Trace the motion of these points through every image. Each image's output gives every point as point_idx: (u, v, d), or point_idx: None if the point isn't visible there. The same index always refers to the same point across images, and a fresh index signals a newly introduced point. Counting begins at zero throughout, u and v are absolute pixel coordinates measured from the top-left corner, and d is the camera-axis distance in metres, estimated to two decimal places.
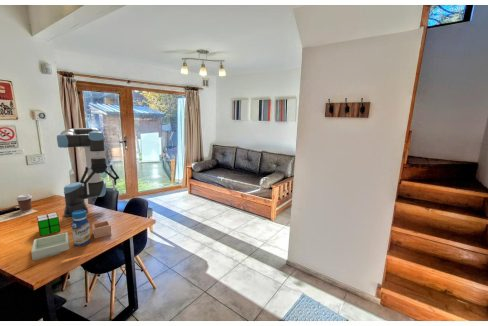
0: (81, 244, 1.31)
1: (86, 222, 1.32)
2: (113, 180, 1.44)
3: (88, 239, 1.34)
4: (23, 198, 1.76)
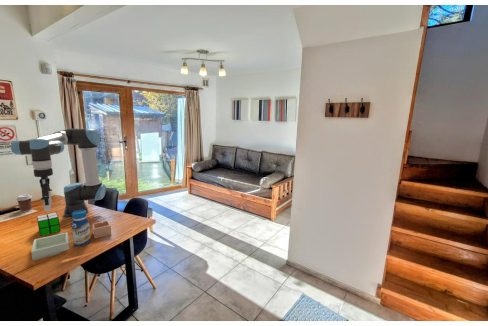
0: (81, 244, 1.31)
1: (86, 222, 1.32)
2: None
3: (88, 239, 1.34)
4: (23, 198, 1.76)
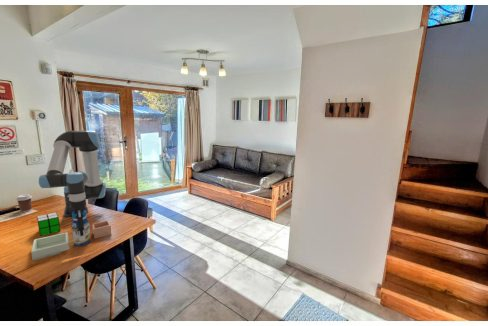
0: (81, 244, 1.32)
1: (86, 222, 1.32)
2: None
3: (88, 239, 1.34)
4: (23, 198, 1.76)
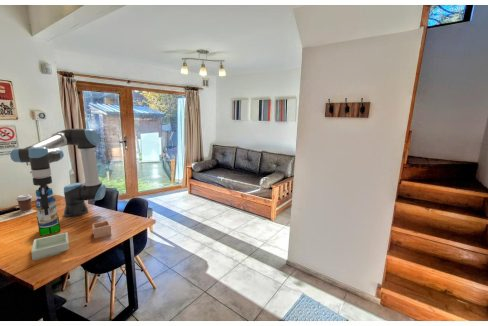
0: (46, 224, 1.23)
1: (52, 201, 1.24)
2: None
3: (54, 219, 1.26)
4: (23, 198, 1.76)
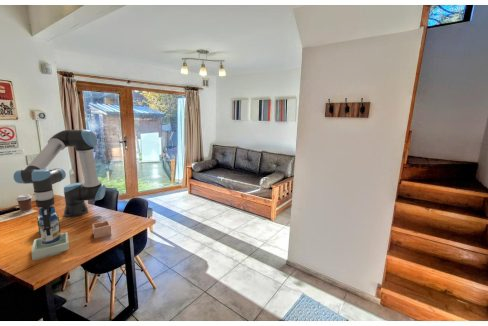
0: (49, 241, 1.27)
1: (54, 219, 1.27)
2: None
3: (57, 236, 1.29)
4: (23, 198, 1.76)
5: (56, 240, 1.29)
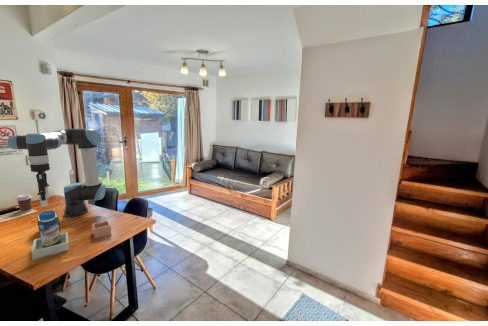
0: None
1: (55, 223, 1.28)
2: None
3: (57, 241, 1.30)
4: (23, 198, 1.76)
5: (57, 244, 1.29)
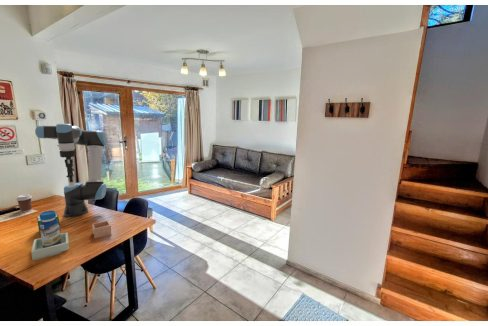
0: None
1: (55, 223, 1.28)
2: (68, 176, 1.35)
3: (58, 241, 1.30)
4: (23, 198, 1.76)
5: (57, 244, 1.29)
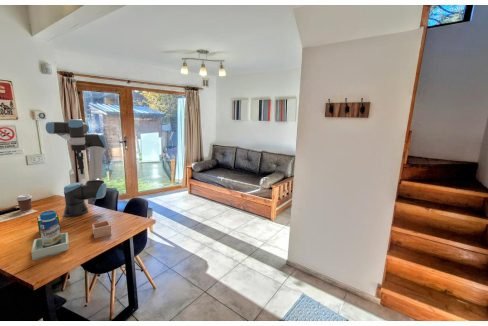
0: None
1: (55, 223, 1.28)
2: (79, 168, 1.44)
3: (58, 241, 1.30)
4: (23, 198, 1.76)
5: (57, 244, 1.29)
